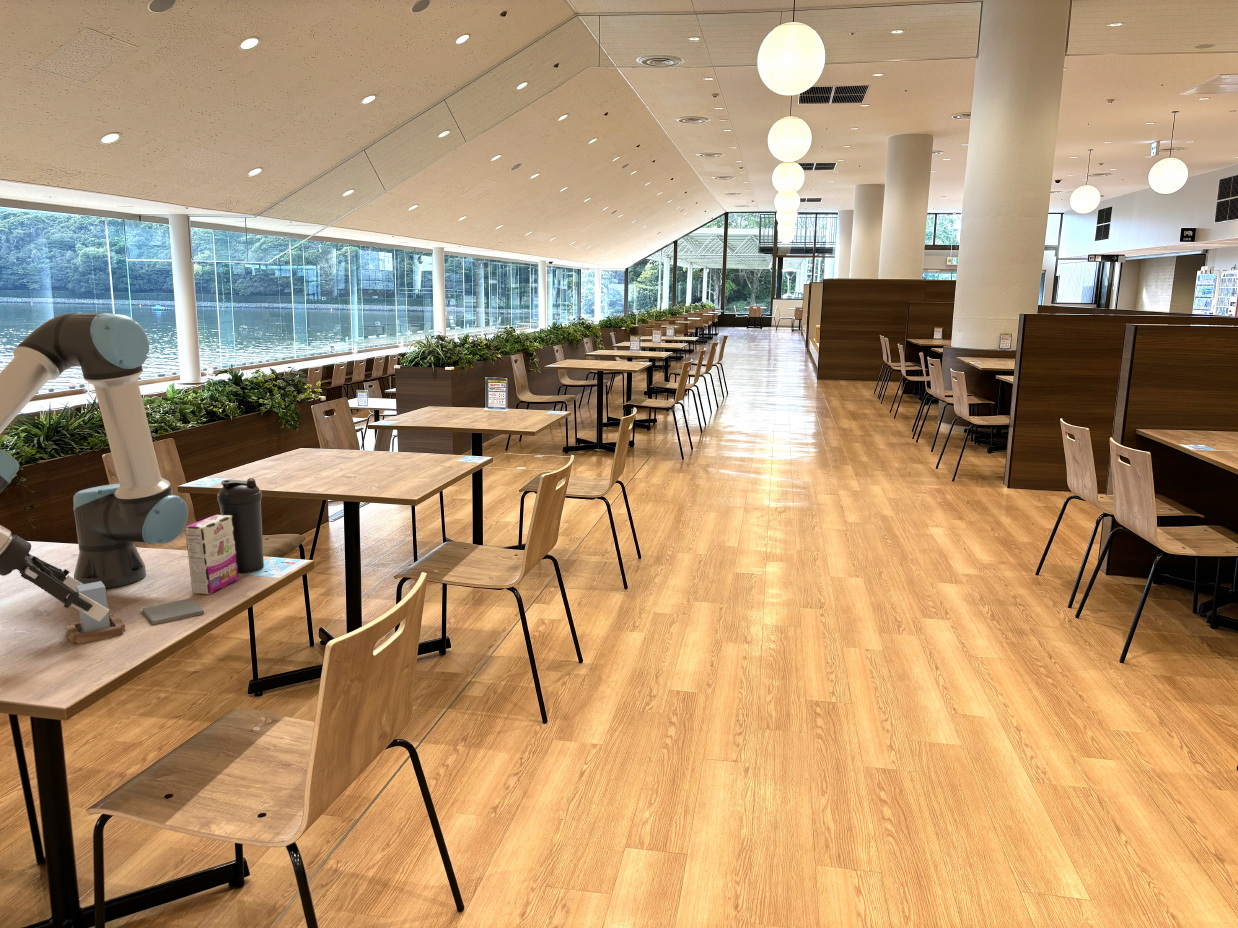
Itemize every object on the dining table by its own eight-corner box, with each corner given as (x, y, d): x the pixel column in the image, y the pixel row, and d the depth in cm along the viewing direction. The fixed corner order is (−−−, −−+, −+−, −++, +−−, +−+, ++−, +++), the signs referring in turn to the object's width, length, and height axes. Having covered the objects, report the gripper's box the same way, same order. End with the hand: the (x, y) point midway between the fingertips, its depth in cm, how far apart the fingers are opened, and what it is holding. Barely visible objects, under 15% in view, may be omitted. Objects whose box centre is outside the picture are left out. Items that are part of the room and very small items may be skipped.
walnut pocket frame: (65, 630, 178) (64, 624, 178) (117, 620, 184) (116, 613, 184) (73, 645, 171) (72, 638, 170) (127, 633, 177) (126, 626, 176)
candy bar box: (221, 578, 211) (215, 513, 208) (239, 580, 210) (233, 514, 207) (190, 594, 200) (183, 525, 197) (209, 595, 199) (202, 527, 196)
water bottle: (224, 565, 221) (216, 477, 217) (267, 560, 225) (260, 474, 221) (223, 576, 212) (215, 485, 208) (268, 571, 216) (260, 482, 212)
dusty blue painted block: (81, 631, 178) (75, 585, 176) (106, 626, 180) (101, 580, 178) (85, 638, 174) (79, 591, 172) (110, 632, 177) (105, 586, 175)
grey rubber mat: (142, 611, 189) (142, 608, 189) (191, 601, 195) (191, 597, 195) (153, 624, 181) (152, 621, 181) (204, 613, 188) (203, 610, 187)
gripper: (-22, 550, 172) (74, 604, 185) (-11, 581, 154) (95, 640, 166) (6, 520, 175) (100, 576, 187) (21, 547, 156) (123, 607, 168)
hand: (98, 606), depth 177 cm, fingers open, 13 cm apart
